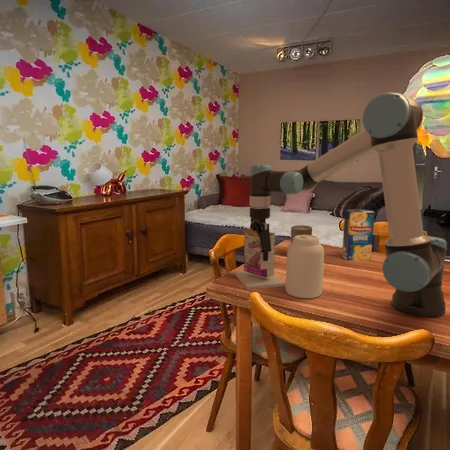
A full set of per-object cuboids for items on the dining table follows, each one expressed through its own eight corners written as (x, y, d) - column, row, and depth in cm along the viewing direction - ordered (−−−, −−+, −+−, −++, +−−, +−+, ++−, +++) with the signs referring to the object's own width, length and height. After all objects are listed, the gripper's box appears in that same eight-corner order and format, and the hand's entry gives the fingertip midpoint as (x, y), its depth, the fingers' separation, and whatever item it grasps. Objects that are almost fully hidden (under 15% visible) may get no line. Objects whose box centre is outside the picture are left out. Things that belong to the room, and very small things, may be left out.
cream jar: (283, 285, 136) (285, 232, 132) (317, 286, 135) (320, 232, 131) (287, 299, 123) (290, 241, 119) (325, 299, 123) (329, 241, 119)
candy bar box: (243, 271, 143) (243, 230, 140) (251, 268, 146) (252, 228, 143) (266, 278, 135) (267, 234, 132) (274, 275, 139) (275, 232, 136)
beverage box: (371, 260, 167) (375, 212, 162) (346, 260, 166) (350, 212, 162) (365, 256, 173) (368, 209, 169) (341, 256, 173) (344, 209, 169)
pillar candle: (314, 254, 175) (315, 223, 172) (306, 259, 167) (308, 227, 164) (294, 252, 180) (295, 221, 178) (286, 256, 172) (287, 225, 169)
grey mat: (284, 286, 135) (284, 283, 135) (247, 289, 132) (247, 286, 132) (267, 271, 151) (267, 269, 151) (234, 274, 148) (234, 271, 148)
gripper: (282, 211, 125) (280, 273, 130) (258, 202, 148) (257, 254, 152) (261, 212, 124) (259, 274, 128) (240, 202, 146) (240, 255, 151)
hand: (258, 263), depth 140 cm, fingers closed on candy bar box, 12 cm apart
